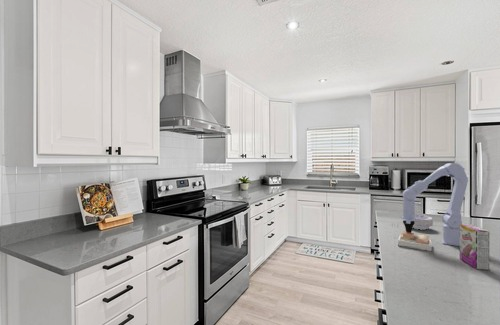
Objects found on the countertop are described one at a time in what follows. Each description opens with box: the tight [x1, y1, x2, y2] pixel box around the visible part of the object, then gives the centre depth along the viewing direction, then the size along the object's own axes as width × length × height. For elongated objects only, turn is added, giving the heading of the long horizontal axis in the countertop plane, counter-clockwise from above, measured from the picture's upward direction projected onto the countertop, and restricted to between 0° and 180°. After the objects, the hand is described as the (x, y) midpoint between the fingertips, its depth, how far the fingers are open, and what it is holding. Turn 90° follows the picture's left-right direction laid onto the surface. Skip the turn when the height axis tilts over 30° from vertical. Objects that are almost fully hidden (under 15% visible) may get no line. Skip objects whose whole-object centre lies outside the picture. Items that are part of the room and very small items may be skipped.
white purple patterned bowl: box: [405, 214, 434, 231], centre depth 163 cm, size 15×15×8 cm
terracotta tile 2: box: [402, 231, 415, 238], centre depth 137 cm, size 5×5×2 cm
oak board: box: [400, 231, 430, 243], centre depth 138 cm, size 13×11×2 cm
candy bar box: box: [459, 223, 490, 271], centre depth 105 cm, size 11×5×16 cm, turn 168°
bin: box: [397, 234, 433, 252], centre depth 129 cm, size 14×12×3 cm
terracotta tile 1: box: [416, 239, 428, 245], centre depth 129 cm, size 5×5×2 cm
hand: (408, 233), depth 140 cm, fingers closed
